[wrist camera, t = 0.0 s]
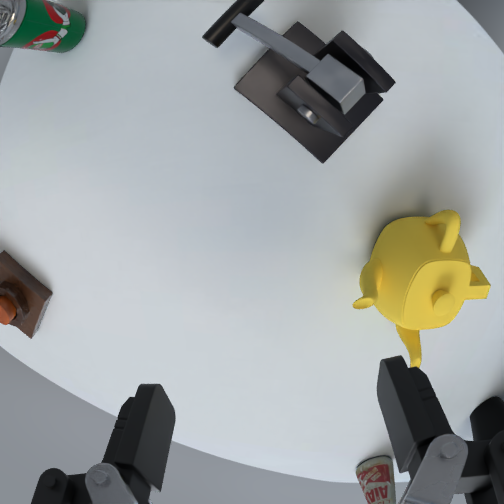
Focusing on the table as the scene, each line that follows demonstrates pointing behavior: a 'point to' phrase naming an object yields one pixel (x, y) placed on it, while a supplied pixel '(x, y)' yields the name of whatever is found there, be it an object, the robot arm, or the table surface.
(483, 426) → the vase
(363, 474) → the bottle
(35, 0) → the soda can
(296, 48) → the lever
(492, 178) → the table surface
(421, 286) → the teapot
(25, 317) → the button block
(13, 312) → the button
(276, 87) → the bracket
